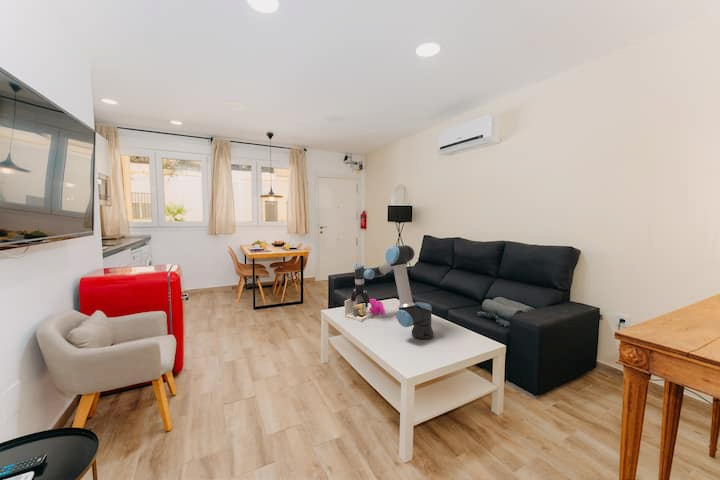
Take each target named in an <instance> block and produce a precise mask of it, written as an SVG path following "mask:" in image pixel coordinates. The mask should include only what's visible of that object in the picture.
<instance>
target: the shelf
mask: <svg viewBox="0 0 720 480" xmlns="http://www.w3.org/2000/svg"><path fill="white" fill-rule="evenodd" d="M355 301H356V304H358V297H357V298H356V300H355ZM364 304H365V303H362V304H361V305H363V306H364ZM358 310H359V313H357V311H358ZM358 315H359V316H358ZM361 316H362V317H361ZM373 316H374V315H373V314H372V313H371V312H368V311H366V312H365V309H364V314H363V315H360V309H359V308H354V305H353V301H352V300H351V298H348V299H346V300H344V318H346V319H349V320H352V321H358V322H359V323H360V322H364V321H366V320H368V319H369V318H372V317H373Z"/></svg>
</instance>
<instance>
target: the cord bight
mask: <svg viewBox="0 0 720 480" xmlns="http://www.w3.org/2000/svg"><path fill="white" fill-rule="evenodd" d="M354 308H359V309H360V310H358V311H357V313H359V311H360V315H359V316H362V315H363V314H364V306H363V305H362V304H358V303H357V304H356V305H354Z"/></svg>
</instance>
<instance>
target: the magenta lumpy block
mask: <svg viewBox="0 0 720 480" xmlns="http://www.w3.org/2000/svg"><path fill="white" fill-rule="evenodd" d="M369 301H370V303H369V304H370V307H369V313H371V314H373V316H376V315H378V314H380V315H385V314H386V312H385V308H384V303H383V302H382V301H381V300H379V301H377V299H376V298H369Z"/></svg>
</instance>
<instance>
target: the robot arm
mask: <svg viewBox="0 0 720 480" xmlns="http://www.w3.org/2000/svg"><path fill="white" fill-rule="evenodd" d="M414 258H415V250H414V248H413V247H411V246H410V245H406V244H405V245H394V246H390V247H388V249H387V250H386V251H385V262H383V263H382V264H380V265H379V266H377V267H370V268H365V265H364V264H355V266H354V283H355V284H354V287H355V288H353V289H351V291H352V292H351V297H350V299H351V300H352V301H353V305H356V301H355V300H356V298H357V299H358V296H361V298H362V299H363V302H364V303H363V304H364V309H365V312H368V308H369V306H368V305H369V304H370V297H369V294H368V290H365V279H367V280H372V279H374V278H378V277H384V276H386V275H387V273H389V272H391V271H392V270H393V273H394V280H395V284H396V290H397V294H398V299H399V305H398V311H397V312H396V320H397V322H398V323H399V324H400V325H401V326H402V327H404V328H408V327H412V329H411V337H413V338H415V339H416V340H420V341H421V340H422V341H424V340H426V341H427V340H432V339H433V338H434V336H435V335H434V330H433V327H432V311H433V308H432V305H431V304H430V303H426V302H422V301H416V302H413V295H412V291H411V287H410V281H409V275H408V270H407V266H408V263H410V262H411V261H412V260H413V259H414Z"/></svg>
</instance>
